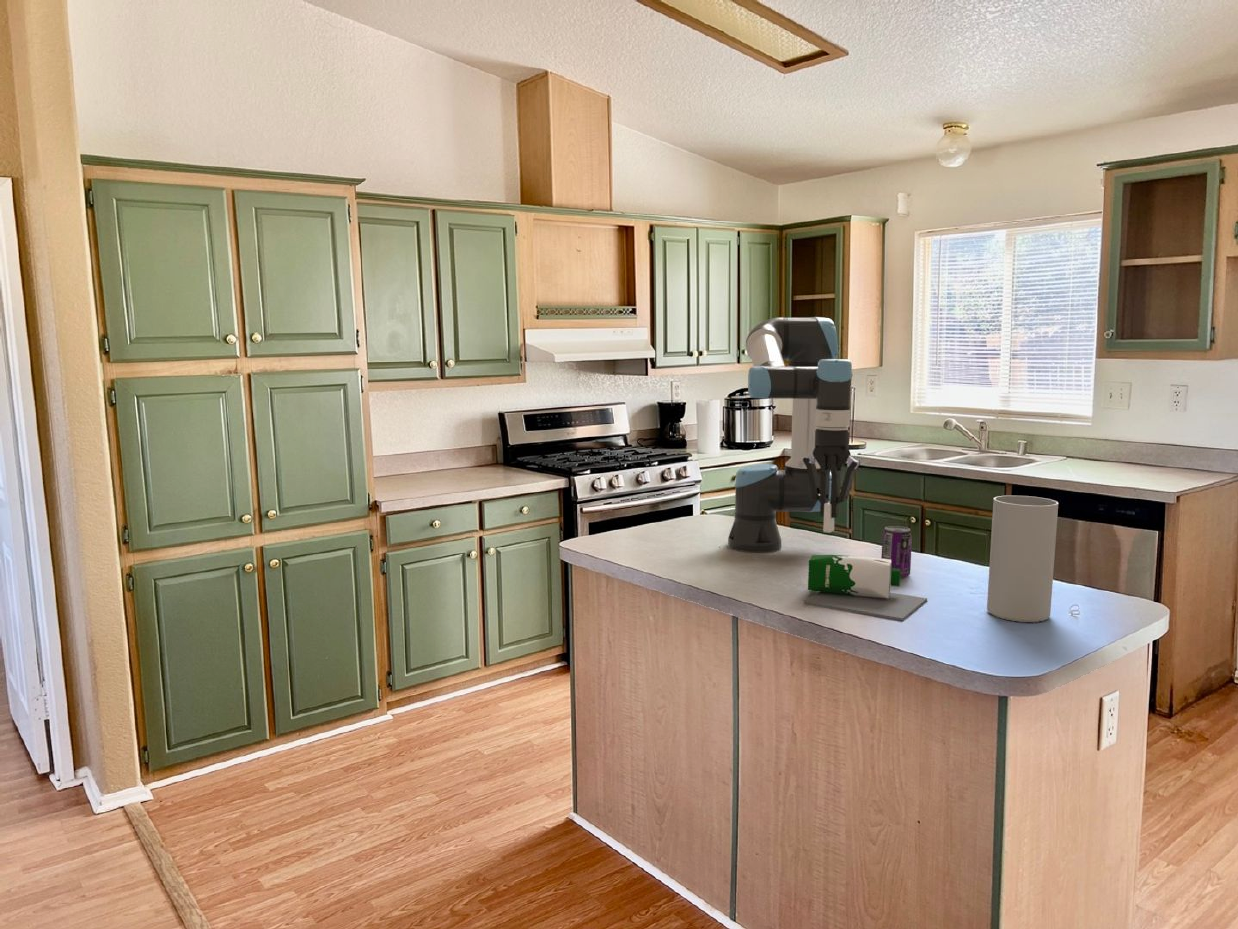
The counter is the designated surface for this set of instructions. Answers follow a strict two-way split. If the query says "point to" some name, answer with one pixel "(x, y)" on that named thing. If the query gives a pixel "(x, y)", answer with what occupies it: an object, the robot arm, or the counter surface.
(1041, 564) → the cylinder vase
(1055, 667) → the counter surface
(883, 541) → the beverage can
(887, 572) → the soya milk
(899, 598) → the mat
